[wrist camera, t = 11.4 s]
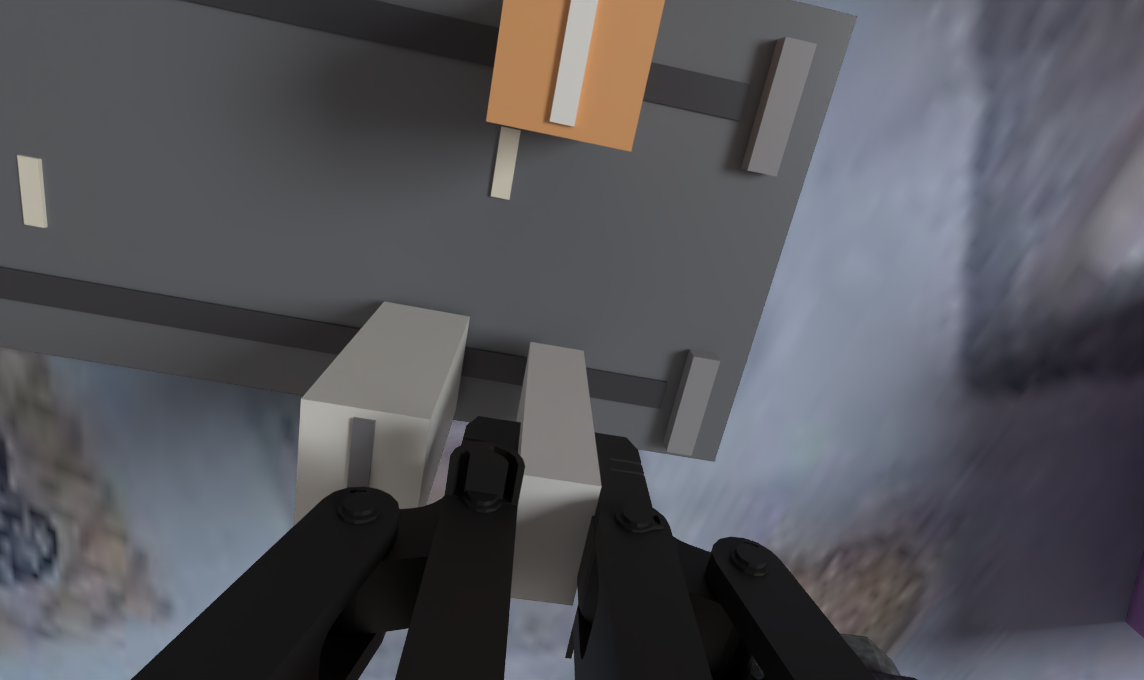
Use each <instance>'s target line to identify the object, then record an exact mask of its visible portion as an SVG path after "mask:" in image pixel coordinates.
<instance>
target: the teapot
mask: <svg viewBox="0 0 1144 680" xmlns="http://www.w3.org/2000/svg"><path fill="white" fill-rule="evenodd" d="M1126 622H1127V623H1128V624H1129V625H1130V626H1131V627H1132V628H1133V629H1134V630H1136V631H1137V632H1138V633H1139V634H1140V635H1141V636H1142V637H1143V638H1144V551H1143V555H1142V559H1141V563H1140V567H1139V571H1138V575H1137V579H1136V583H1135V587H1134V591H1133V595H1132V599H1131V603H1130V607H1129V611H1128V615H1127V619H1126Z"/></svg>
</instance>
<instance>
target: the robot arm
mask: <svg viewBox="0 0 1144 680" xmlns="http://www.w3.org/2000/svg"><path fill="white" fill-rule="evenodd" d="M577 585H578V607H577V611H576V615H575V620H574V624H573V628H572V632H571V636H570V640H569V644H568V648H567V652H566V657H565V658H571V657H572V654H573V650H574V664H575V680H876V678H875V677H874V676H873V675H872V673H871V672H870V671H869V670H868V668H867V667H866V666H865V665H864V663H863V662H862V661H861V660H860V658H859V657H858V656H857V655H856V653H855V652H854V651H853V650H852V648H851V647H850V646H849V645H848V644H847V642H846V641H845V640H844V639H843V637H842V636H841V635H840V634H839V632H838V631H837V630H836V629H835V627H834V626H833V625H832V624H831V622H830V621H829V620H828V619H827V617H826V616H825V615H824V614H823V612H822V611H821V610H820V609H819V607H818V606H817V605H816V604H815V602H814V601H813V600H812V599H811V597H810V596H809V595H808V594H807V593H806V591H805V590H804V589H803V588H802V586H801V585H800V584H799V583H798V581H797V580H796V579H795V578H794V576H793V575H792V574H791V573H790V571H789V570H788V569H787V568H786V566H785V565H784V564H783V563H782V561H781V560H780V559H779V558H778V557H777V556H776V555H774V554H773V553H772V552H771V551H770V550H768V549H767V548H765V547H763V546H762V545H760V544H758V543H756V542H754V541H750V540H748V539H745V538H737V537H727V538H722V539H719V540H718V541H717V542H716V543H715V544H714V545H713V548H712V551H711V552H708V551H705V550H703V549H700V548H697V547H694V546H691V545H689V544H687V543H684V542H682V541H680V540H678V539H676V538H675V537H673V536H672V532H671V529H670V526H669V524H668V522H667V520H666V519H665V517H664V516H663V515H661V514H660V513H659V512H658V511H657V510H656V509H654V508H652V504H651V500H650V496H649V492H648V488H647V484H646V480H645V476H644V472H643V468H642V465H641V460H640V456H639V452H638V449H637V448H636V447H635V446H634V445H633V444H632V443H631V442H630V441H629V439H628V438H627V437H621V436H615V435H609V434H602V433H596V432H594V426H593V418H592V410H591V403H590V395H589V388H588V380H587V373H586V365H585V357H584V351H583V350H577V349H571V348H565V347H559V346H553V345H547V344H541V343H535V342H530V347H529V353H528V359H527V364H526V370H525V375H524V381H523V386H522V392H521V397H520V403H519V408H518V414H517V420H516V422H514V421H508V420H501V419H495V418H489V417H482V416H478V417H476V418H475V419H474V420H473V421H471V422H470V423H469V424H468V425H467V426H466V429H465V433H464V437H463V441H462V444H461V446H459V447H457V448H455V450H454V451H453V453H452V454H451V455H450V462H449V469H448V476H447V483H446V490H445V496H444V497H443V498H442V499H440V500H438V501H436V502H435V503H432V504H429V505H426V506H423V507H416V508H408V509H399V505H398V502H397V501H396V500H395V499H394V498H393V497H392V496H391V494H389V493H386V492H384V491H382V490H380V489H376V488H370V487H364V486H363V487H348V488H345V489H341V490H338V491H334V492H333V493H331V494H330V495H328V496H326V497H325V498H323V499H322V500H321V501H320V502H319V503H318V504H317V505H316V506H315V507H314V508H313V509H312V510H310V511H309V512H308V513H307V514H306V515H305V516H304V517H303V518H302V519H301V520H300V521H299V522H298V523H297V524H296V525H295V526H293V527H292V528H291V529H290V530H289V531H288V532H287V533H286V534H285V535H284V536H283V537H282V538H281V539H280V540H279V541H278V542H277V543H275V544H274V545H273V546H272V547H271V548H270V549H269V550H268V551H267V552H266V553H265V554H264V555H263V556H262V557H261V558H260V559H258V560H257V561H256V562H255V563H254V564H253V565H252V566H251V567H250V568H249V569H248V570H247V571H246V572H245V573H244V574H243V575H241V576H240V577H239V578H238V579H237V580H236V581H235V582H234V583H233V584H232V585H231V586H230V587H229V588H228V589H227V590H226V591H224V592H223V593H222V594H221V595H220V596H219V597H218V598H217V599H216V600H215V601H214V602H213V603H212V604H211V605H210V606H209V607H207V608H206V609H205V610H204V611H203V612H202V613H201V614H200V615H199V616H198V617H197V618H196V619H195V620H194V621H193V622H192V623H190V624H189V625H188V626H187V627H186V628H185V629H184V630H183V631H182V632H181V633H180V634H179V635H178V636H177V637H176V638H175V639H173V640H172V641H171V642H170V643H169V644H168V645H167V646H166V647H165V648H164V649H163V650H162V651H161V652H160V653H159V654H158V655H156V656H155V657H154V658H153V659H152V660H151V661H150V662H149V663H148V664H147V665H146V666H145V667H144V668H143V669H142V670H141V671H140V672H138V673H137V674H136V675H135V676H134V677H133V678H132V679H131V680H358V679H359V677H360V676H361V674H362V673H363V671H364V669H365V668H366V666H367V665H368V663H369V662H370V660H371V659H372V657H373V655H374V654H375V652H376V651H377V649H378V648H379V646H380V645H381V643H382V641H383V638H384V636H385V633H386V632H387V631H393V630H400V629H406V628H409V630H408V633H407V637H406V641H405V644H404V648H403V652H402V656H401V659H400V663H399V667H398V670H397V674H396V678H395V680H504V672H505V659H506V647H507V634H508V622H509V609H510V598H518V599H526V600H533V601H541V602H549V603H557V604H565V605H573V602H574V598H575V593H576V589H577ZM755 660H756V662H757V663H758V665H759V666H760V668H761V670H762V672H763V674H764V676H763V674H762V673H761V672H760V671H759V669H758V667H757V666H756V664H755V663H754V661H755Z"/></svg>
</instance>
